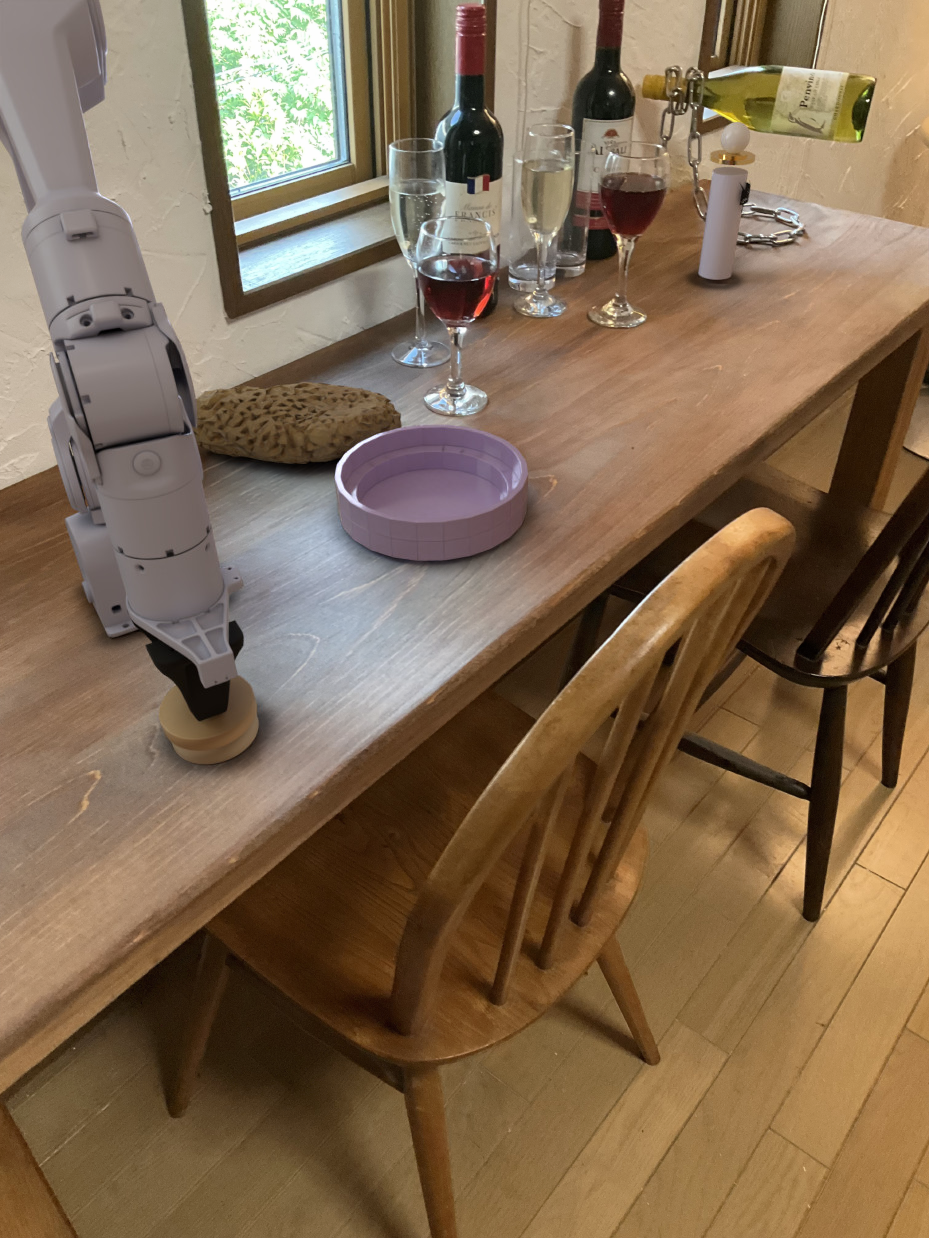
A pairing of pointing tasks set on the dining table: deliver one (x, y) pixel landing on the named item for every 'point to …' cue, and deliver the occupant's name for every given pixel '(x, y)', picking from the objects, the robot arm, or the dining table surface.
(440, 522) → the bowl
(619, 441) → the dining table surface
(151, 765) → the dining table surface
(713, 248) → the white cylinder with ball
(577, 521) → the dining table surface
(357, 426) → the sponge
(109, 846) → the dining table surface
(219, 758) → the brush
